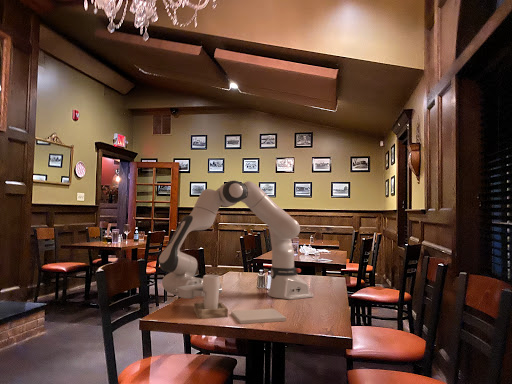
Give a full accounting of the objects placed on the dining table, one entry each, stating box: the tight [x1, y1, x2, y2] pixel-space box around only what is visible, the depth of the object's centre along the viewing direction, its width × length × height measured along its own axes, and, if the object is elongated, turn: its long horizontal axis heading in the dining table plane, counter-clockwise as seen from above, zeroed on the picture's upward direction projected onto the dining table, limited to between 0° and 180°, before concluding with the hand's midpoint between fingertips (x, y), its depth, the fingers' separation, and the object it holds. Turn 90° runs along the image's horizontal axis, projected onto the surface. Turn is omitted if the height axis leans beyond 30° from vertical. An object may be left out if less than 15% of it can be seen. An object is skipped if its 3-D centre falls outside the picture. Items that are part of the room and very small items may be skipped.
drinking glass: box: [202, 274, 221, 309], centre depth 149 cm, size 7×7×15 cm
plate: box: [230, 308, 287, 325], centre depth 145 cm, size 18×14×1 cm
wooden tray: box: [193, 301, 229, 320], centre depth 149 cm, size 11×11×3 cm
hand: (212, 292), depth 149 cm, fingers open, 8 cm apart
